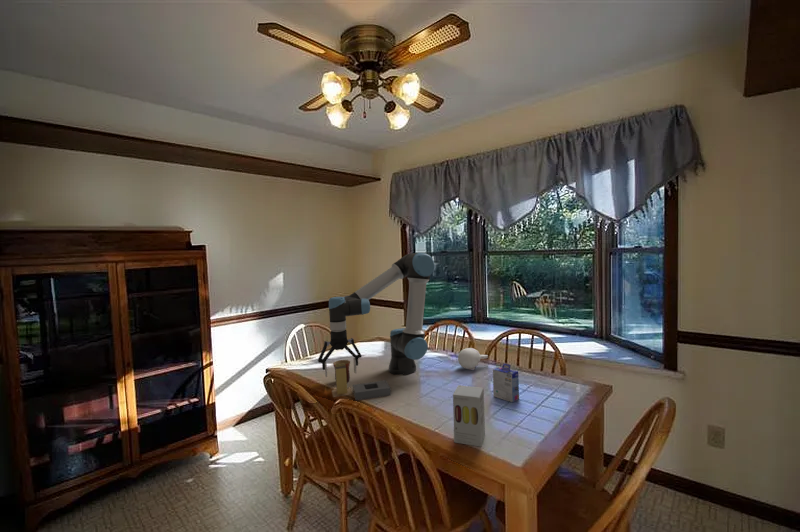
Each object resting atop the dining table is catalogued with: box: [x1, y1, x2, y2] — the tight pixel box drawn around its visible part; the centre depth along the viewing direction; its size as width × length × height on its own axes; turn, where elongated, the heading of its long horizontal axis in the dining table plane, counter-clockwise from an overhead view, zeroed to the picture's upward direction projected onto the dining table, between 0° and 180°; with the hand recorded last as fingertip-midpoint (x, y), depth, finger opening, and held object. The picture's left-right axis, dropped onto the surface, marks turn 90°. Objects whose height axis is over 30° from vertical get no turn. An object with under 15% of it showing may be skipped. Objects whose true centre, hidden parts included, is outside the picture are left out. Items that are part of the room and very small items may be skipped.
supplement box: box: [452, 384, 486, 448], centre depth 125 cm, size 10×9×17 cm
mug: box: [332, 359, 351, 383], centre depth 184 cm, size 12×9×10 cm
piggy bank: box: [457, 347, 489, 371], centre depth 198 cm, size 12×12×15 cm
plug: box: [335, 363, 348, 394], centre depth 171 cm, size 4×4×13 cm
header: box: [352, 379, 392, 401], centre depth 167 cm, size 16×10×4 cm, turn 104°
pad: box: [331, 386, 353, 398], centre depth 171 cm, size 9×9×1 cm
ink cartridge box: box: [492, 362, 520, 403], centre depth 156 cm, size 10×6×14 cm, turn 42°
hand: (340, 374), depth 171 cm, fingers open, 13 cm apart
